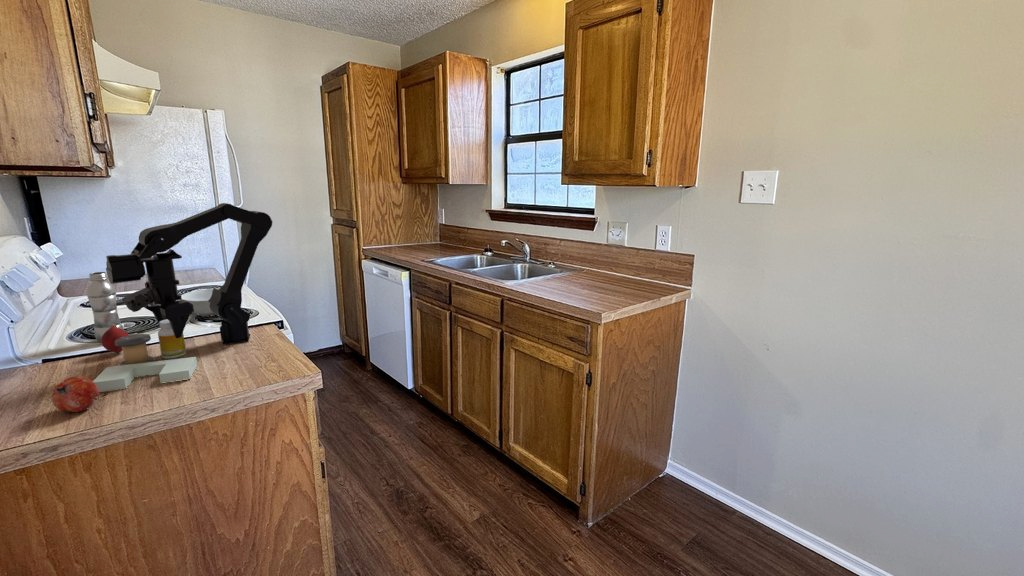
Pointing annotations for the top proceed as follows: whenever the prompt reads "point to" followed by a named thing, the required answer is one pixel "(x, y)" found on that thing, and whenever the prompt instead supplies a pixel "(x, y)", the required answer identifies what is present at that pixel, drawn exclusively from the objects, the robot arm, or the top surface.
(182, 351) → the supplement bottle
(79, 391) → the pomegranate
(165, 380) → the notched board
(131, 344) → the spool
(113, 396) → the top surface
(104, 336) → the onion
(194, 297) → the cereal bowl
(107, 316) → the plastic bottle
